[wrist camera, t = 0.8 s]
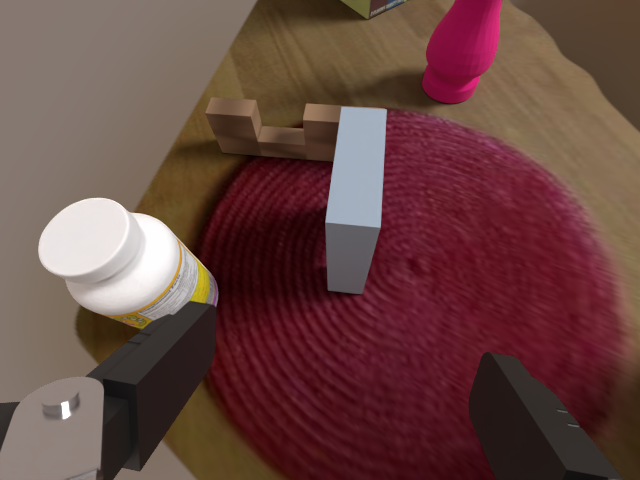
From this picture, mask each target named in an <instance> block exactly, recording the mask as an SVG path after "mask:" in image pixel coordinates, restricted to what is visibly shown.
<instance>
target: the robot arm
mask: <svg viewBox="0 0 640 480" xmlns="http://www.w3.org/2000/svg"><path fill="white" fill-rule="evenodd" d="M215 339H216V307H215V305H212V304H207V303H201V302H195V301H189V302H187V303H186V304H185V305H184V306H183V307H182V308H180V309H179V310H178V311H177V312H176V313H175V314H174V315H172V314H167V315H165V316H163V317H160V318H158V319H156V320H154V321H151V322H150V323H149V324H148V325H147V326H145V327H144V328H143V329H142V330H141V331H139V333H138V334H136V335H135V336H133V337H132V338H131V339H130V340H129V341H128V343H127V344H126V343H125V344H124V345H123V346H121V347H120V348H119V349H118V350H117V351H115V352H114V353H113V354H112V355H111V356H109V357H108V358H107V359H106V360H105V361H103V362H102V363H101V364H100V365H99V366H97V367H96V368H95V369H94V370H93V371H92V372H90V373H89V374H88V375H87V376H85V377H71V378H66V379H61V380H58V381H55V382H52V383H49V384H47V385H45V386H43V387H41V388H39V389H37V390H35V391H34V392H33V393H31V394H29V395H28V396H27V397H25V398H24V399H23V400H22V401H21V402H11V403H0V480H113V479H114V478H115V476H116V475H117V473H118V472H119V471H120V470H121V468H126V469H131V470H135V471H141V469H142V468H143V466H144V465H145V463H146V462H147V460H148V459H149V457H150V456H151V454H152V453H153V452H154V450H155V449H156V447H157V446H158V444H159V443H160V441H161V440H162V438H163V437H164V435H165V434H166V432H167V431H168V429H169V428H170V426H171V425H172V423H173V422H174V420H175V419H176V417H177V416H178V415H179V413H180V412H181V410H182V409H183V407H184V406H185V404H186V403H187V401H188V400H189V398H190V397H191V395H192V394H193V392H194V391H195V389H196V388H197V386H198V385H199V383H200V382H201V380H202V379H203V378H204V376H205V375H206V373H207V372H208V370H209V368H210V366H211V364H212V361H213V358H214V353H215ZM469 414H470V419H471V421H472V424H473V426H474V429H475V431H476V433H477V436H478V438H479V441H480V443H481V445H482V448H483V450H484V453H485V455H486V457H487V460H488V462H489V464H490V467H491V469H492V472H493V474H494V476H495V479H496V480H624V479H623V478H622V477H621V476H620V474H619V473H618V472H617V471H616V470H615V468H614V467H613V466H612V465H611V463H610V462H609V461H608V460H607V458H606V457H605V456H604V455H603V453H602V452H601V451H600V450H599V448H598V447H597V446H596V445H595V443H594V442H593V441H592V440H591V438H590V437H589V436H588V435H587V433H586V432H585V431H584V430H583V429H582V428H580V427H579V424H578V422H577V421H576V420H575V419H574V417H573V416H572V415H571V414H569V413H568V410H567V409H566V407H565V406H564V405H563V404H562V402H561V401H560V400H559V399H558V397H557V396H556V395H555V394H554V393H553V392H552V391H550V390H549V389H548V388H547V387H545V386H544V385H543V384H542V383H540V382H539V381H538V380H537V379H534V378H532V377H531V375H530V374H529V373H528V371H527V370H526V369H525V368H524V366H523V365H522V364H521V362H520V361H519V360H518V359H517V358H516V357H513V356H508V355H502V354H496V353H490V352H486V353H484V354H483V356H482V358H481V361H480V364H479V367H478V370H477V374H476V377H475V380H474V383H473V387H472V390H471V393H470V397H469Z"/></svg>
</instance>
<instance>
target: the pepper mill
mask: <svg viewBox="0 0 640 480" xmlns="http://www.w3.org/2000/svg"><path fill="white" fill-rule="evenodd" d="M501 4H502V0H455V2H454V4H453V6H452V7H451V9H450V10H449V12H448V13H447V14H446V15H445V17H444V18H443V19H442V21H441V22H440V23H439V24H438V26H437V27H436V29H435V31H434V32H433V34H432V36H431V38H430V41H429V43H428V46H427V50H426V58H427V62H428V65H427V67H426V69H425V73H424V76H423V80H422V87H423V89H424V91H425V93H426V94H427V95H428V96H429V97H431V98H433V99H434V100H437V101H440V102H443V103H459V102H463V101H465V100H467V99H468V98H470V97H471V96H472V94H473V93H474V91H475V88H476V86H477V84H478V82H479V76H480V75H481V74H483V73H484V72H485V71H487V70H488V68H489V67H490V66H491V64H492V62H493V60H494V57H495V54H496V51H497V47H498V41H499V17H500V9H501Z"/></svg>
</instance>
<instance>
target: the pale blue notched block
mask: <svg viewBox="0 0 640 480" xmlns="http://www.w3.org/2000/svg"><path fill="white" fill-rule="evenodd" d="M386 113H387V110H386V109H371V108H355V107H341V114H340V121H339V129H338V136H337V143H336V150H335V157H334V164H333V171H332V178H331V186H330V193H329V200H328V207H327V214H326V221H325V227H326V254H327V281H328V291H337V292H346V293H354V294H362V293H363V289H364V286H365V282H366V278H367V275H368V271H369V267H370V264H371V260H372V257H373V253H374V249H375V246H376V242H377V238H378V235H379V231H380V227H381V208H382V189H383V170H384V151H385V132H386Z"/></svg>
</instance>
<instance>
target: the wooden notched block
mask: <svg viewBox="0 0 640 480" xmlns="http://www.w3.org/2000/svg"><path fill="white" fill-rule="evenodd" d="M341 107H354V106H339V105H323V104H307V103H306V107H305V112H304V116H303V127H304V129H298V128H283V127H269V126H262V123H261V119H260V115H259V111H258V107H257V103H256V100H245V99H229V98H213V97H211V100H210V102H209V105H208V107H207V110H206V112H205V114H206V116H207V119H208V121H209V123H210V125H211V128H212V130H213V132H214V135H215V137H216V139H217V141H218V144H219V146H220V148H221V151H222V153H231V154H244V155H257V156H269V157H282V158H295V159H307V160H320V161H332V162H334V157H335V150H336V143H337V136H338V129H339V121H340V114H341ZM355 108H370V107H355ZM371 109H385V108H371Z"/></svg>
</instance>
